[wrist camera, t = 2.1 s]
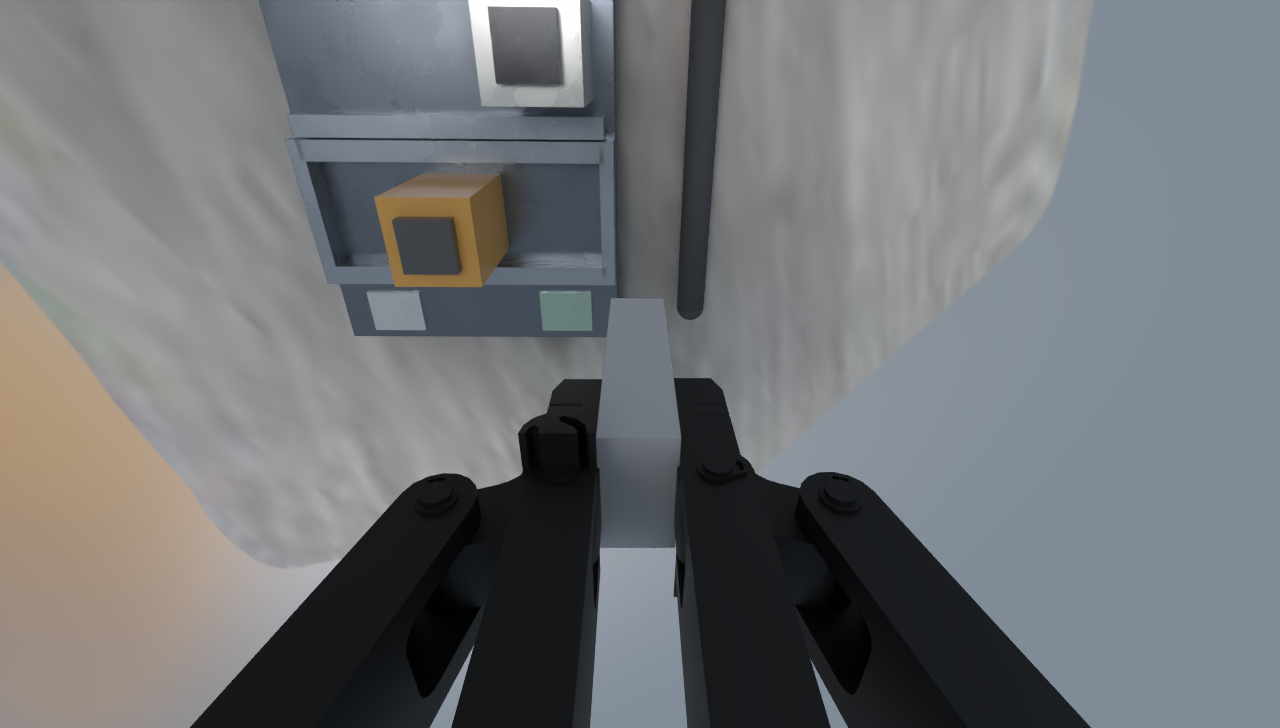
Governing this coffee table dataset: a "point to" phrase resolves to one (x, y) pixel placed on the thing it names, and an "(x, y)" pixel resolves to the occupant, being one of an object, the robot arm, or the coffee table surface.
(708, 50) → the rod
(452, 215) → the block
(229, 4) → the coffee table surface
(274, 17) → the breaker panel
